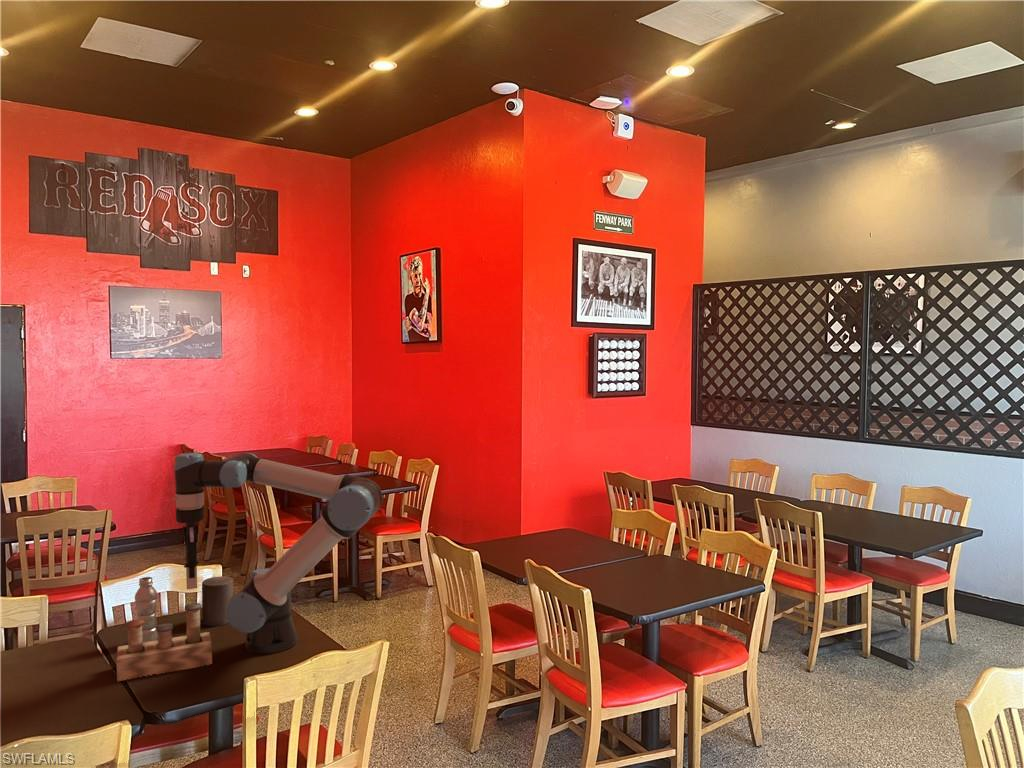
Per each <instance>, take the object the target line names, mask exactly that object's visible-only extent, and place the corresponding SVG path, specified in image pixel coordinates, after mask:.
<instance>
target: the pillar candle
mask: <svg viewBox="0 0 1024 768" xmlns="http://www.w3.org/2000/svg"><path fill="white" fill-rule="evenodd" d="M233 581H234V579H233V578H232V577H229V576H224V575H223V576H213V577H212V576H211V577H209V578H208V577H207V578H205V579H204V580H203V581H202V583H201V616H202V621H201V624H202V625H203V626H205V625H206V627H219V626H223V625H224V624H225V625H227V624H230V623H229V622H228V620H227V617H226V606H227V603H228V602H229V600H230V599H231V597H232V596H233V595H234V582H233ZM225 625H224V626H225Z"/></svg>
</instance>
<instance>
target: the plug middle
mask: <svg viewBox="0 0 1024 768" xmlns="http://www.w3.org/2000/svg"><path fill="white" fill-rule="evenodd" d="M173 629H174V624H173V623H170V622H169V623H168V622H167V623H161V624H159V625H158V624H157V627H156V631H157V632H158V638H157V640H158V649H163V648H169V647H172V638H173V631H172V630H173Z"/></svg>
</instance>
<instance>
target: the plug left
mask: <svg viewBox="0 0 1024 768" xmlns="http://www.w3.org/2000/svg"><path fill="white" fill-rule="evenodd" d="M201 609H202V603H200V602H191V603H188V604H186V605H184V611H185V613H186V614H185V615H186V617H185V618H186V622H185V623H186V636H187V644H193V643H199V642H200V633H201Z"/></svg>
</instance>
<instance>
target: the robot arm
mask: <svg viewBox="0 0 1024 768" xmlns="http://www.w3.org/2000/svg"><path fill="white" fill-rule="evenodd" d="M173 472H174V486H175V487H174V488H175V489H174V490H175V496H174V497H173V498H172V500H173V501H175V507H176V509H175V521H176V522H177V523H178V524H185V526H183V527H182V534H183V541H184V545H185V564H184V565H183V568H185V570H186V571H185V573H186V574H185V575H186V590H193V589H194V590H195V589H198V568H197V567H198V564H199V560H198V554H197V553H198V552H197V551H198V550H197V544H198V540H199V539H198V538H199V537H198V534H199V527H198V525H196V523H198V522H202V521H203V520H204V519H205V507H204V506H205V491H204V490H205V489H204V488H228V489H231V488H239V487H242V486H244V483H245V482H249V483H255V484H258V485H262V486H263V485H264V486H266V487H267V486H268V487H273V488H277V489H281V490H285V491H289V492H294V493H299V494H302V495H306V496H311V497H314V498H315V497H316V498H319V499H323V500H328V502H327V503H325V505H324V506H323V507H322V508H321V510H320V517H319V519H318V520H316V522H314V524H312V526H311V527H309V528H308V530H306V532H305V533H304V534H303V535H301V537H299V538H298V539H297V541H296V542H294V544H293V545H291V547H290V548H289V549H288V550H286V552H285V553H284V554H283V555H281V557H280V558H279V559H278V560H277V561H276V562H274V564H273V565H271V567H266V568H259V569H254V570H252V571H251V572H250V577H249V579H250V580H249V581H248V582H247V583H246V584H245V585H244V586H243V587H242V588H240V590H239V591H238V592H237V593H235V594H233V596H232V597H231V599H230V600H229V602H228V603H227V606H226V617H227V620H228V622H229V623H228V624H230V626H231V627H232V628H233V629H235V630H236V631H238V632H240V633H244V634H245V633H246V637H245V649H246V650H247V651H249V652H250V653H254V654H255V653H256V654H273V653H274V654H275V653H278V652H279V653H280V652H282V651H286V650H288V649H290V648H292V647H294V646H295V645H297V643H298V632H297V629H296V626H295V624H294V623H295V622H294V621H293V618H292V589H293V588H294V587H295V586H296V585H298V583H299V582H300V581H301V580H303V578H305V576H306V575H307V574H309V572H311V570H312V569H314V568H315V567H316V566H317V564H319V562H320V561H321V560H323V558H324V557H325V556H327V554H329V552H330V551H332V549H334V547H336V545H337V544H338V543H339V542H341V540H342V539H344V540H346V539H347V540H348V539H351V538H352V537H353V536H354V535H355V534H356V533H357V532H358V531H359V530H360V529H361V528H362V527H363V526H364V525H366V524H367V523H368V522H369V520H370V519H372V517H373V516H375V515H376V514H377V513H378V512H379V511H380V509H381V507H382V504H383V500H384V497H383V495H384V494H383V491H382V490H381V488H380V486H379V485H378V484H377V482H375V481H374V480H372V479H369V478H364V477H363V476H358V475H357V476H356V475H351V474H348V473H347V474H346V473H345V474H343V475H341V476H339V475H335V474H332V473H327V472H322V471H318V470H314V469H313V470H312V469H309V468H305V467H301V466H296V465H290V464H287V463H284V462H283V463H281V462H277V461H272V460H269V459H264V458H260V457H258V456H257V455H256V454H254V453H250V452H244V453H239V454H236V455H234V456H232V457H229V458H225V459H223V460H206V459H205V460H204V455H203V454H202V453H200V452H187V453H180V454H177V455H176V456H175V458H174V469H173Z"/></svg>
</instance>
